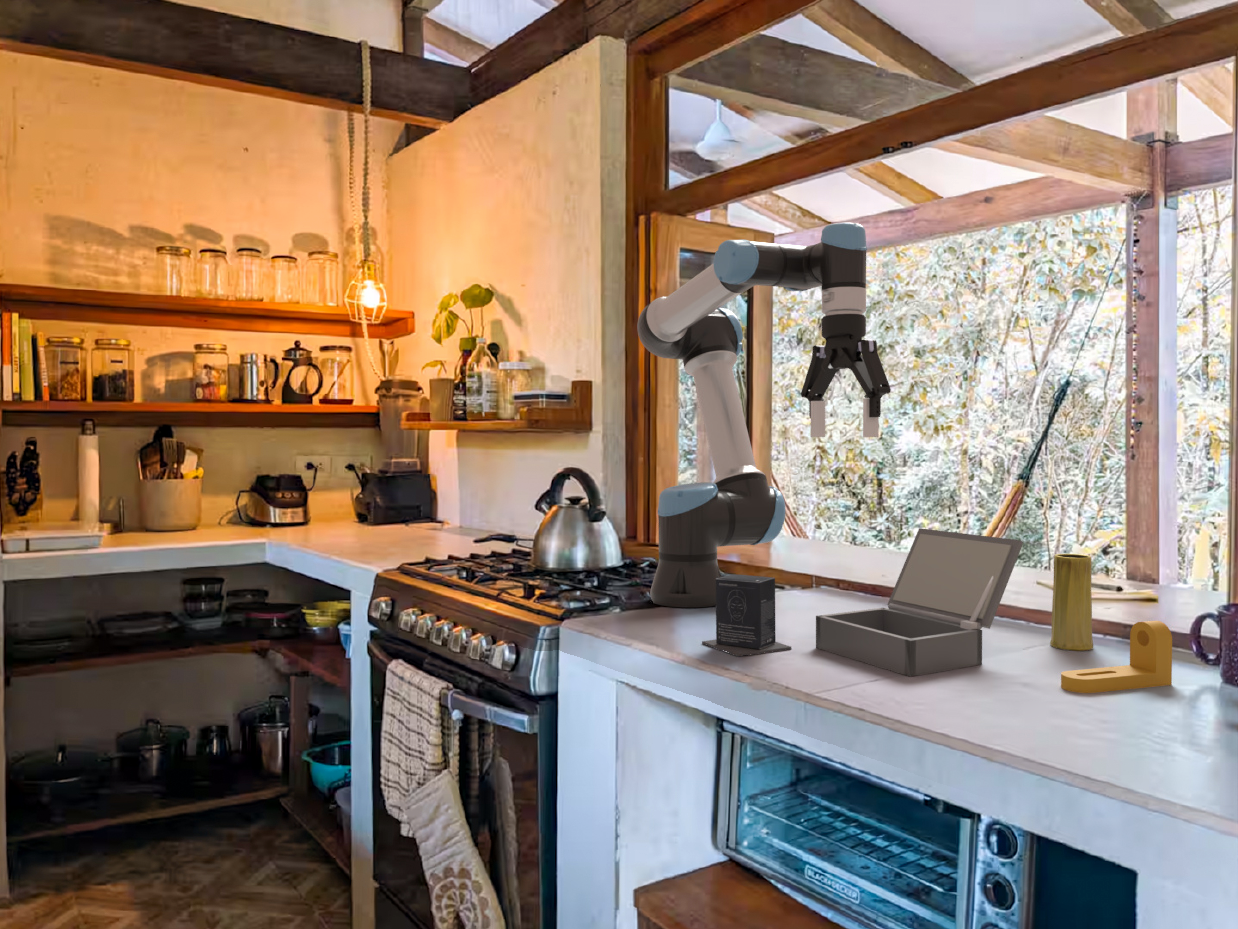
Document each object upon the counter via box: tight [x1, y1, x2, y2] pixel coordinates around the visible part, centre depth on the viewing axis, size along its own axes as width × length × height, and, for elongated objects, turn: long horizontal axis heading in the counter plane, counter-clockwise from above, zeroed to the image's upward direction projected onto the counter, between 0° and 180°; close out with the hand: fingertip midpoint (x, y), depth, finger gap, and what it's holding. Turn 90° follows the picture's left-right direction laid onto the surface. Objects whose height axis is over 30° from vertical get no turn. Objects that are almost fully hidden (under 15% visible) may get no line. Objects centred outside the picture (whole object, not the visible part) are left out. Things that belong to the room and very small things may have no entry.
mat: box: [701, 639, 792, 657], centre depth 149 cm, size 10×10×1 cm
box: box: [715, 573, 776, 649], centre depth 149 cm, size 8×6×11 cm
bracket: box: [1060, 620, 1173, 694], centre depth 125 cm, size 15×4×8 cm, turn 106°
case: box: [815, 527, 1024, 677], centre depth 144 cm, size 20×22×18 cm
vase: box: [1049, 553, 1094, 652], centre depth 147 cm, size 6×6×14 cm
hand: (843, 437), depth 165 cm, fingers open, 13 cm apart
